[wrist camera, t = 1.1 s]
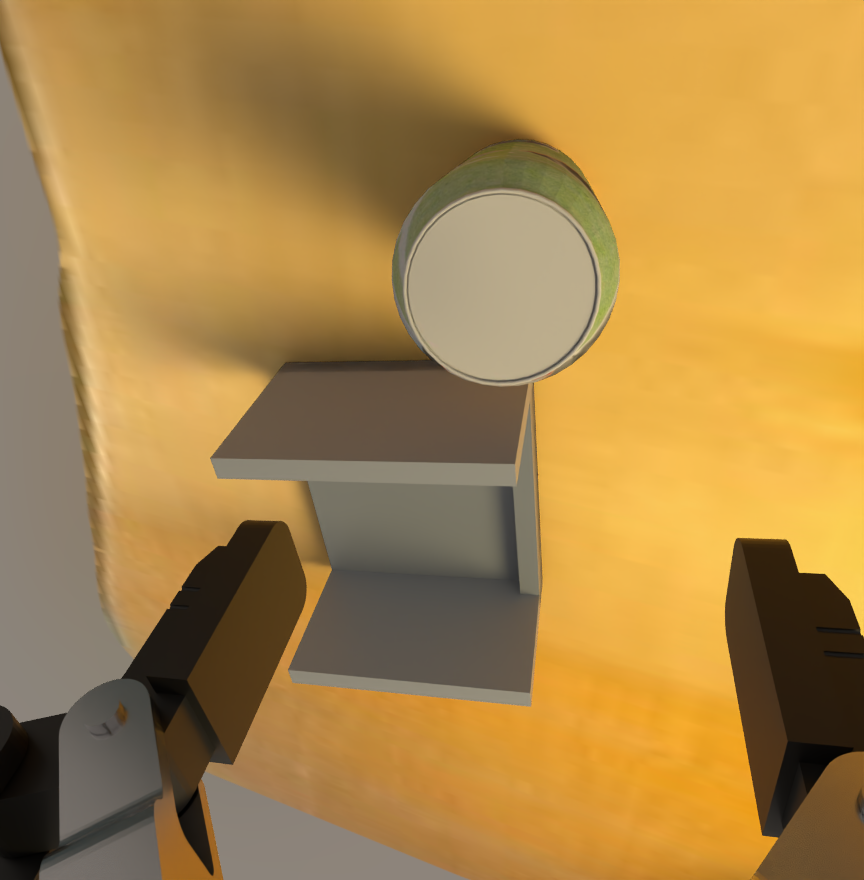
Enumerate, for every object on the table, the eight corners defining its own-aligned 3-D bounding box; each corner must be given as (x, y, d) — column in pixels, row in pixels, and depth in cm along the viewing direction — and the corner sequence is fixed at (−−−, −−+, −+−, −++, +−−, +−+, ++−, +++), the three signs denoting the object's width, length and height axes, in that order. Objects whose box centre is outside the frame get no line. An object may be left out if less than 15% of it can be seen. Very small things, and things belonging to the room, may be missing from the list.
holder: (285, 362, 33) (210, 458, 27) (532, 358, 31) (515, 464, 24) (340, 569, 41) (292, 682, 35) (542, 581, 38) (531, 706, 32)
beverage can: (435, 271, 29) (354, 423, 20) (461, 80, 25) (375, 155, 15) (580, 301, 29) (571, 473, 19) (634, 112, 24) (657, 210, 15)
